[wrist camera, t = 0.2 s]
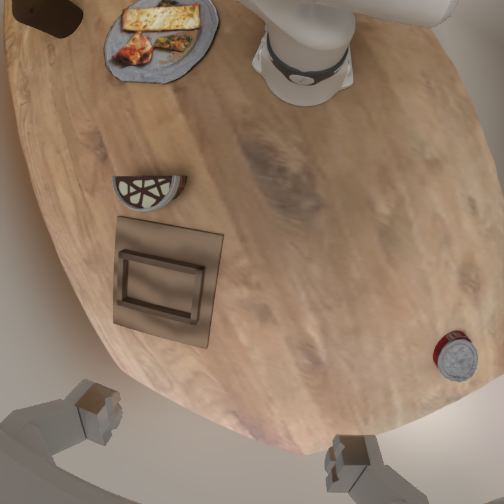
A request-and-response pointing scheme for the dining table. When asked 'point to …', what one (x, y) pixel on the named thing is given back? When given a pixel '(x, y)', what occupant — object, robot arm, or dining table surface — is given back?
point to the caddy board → (165, 280)
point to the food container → (147, 191)
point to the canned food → (456, 356)
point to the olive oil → (48, 15)
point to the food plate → (158, 39)
